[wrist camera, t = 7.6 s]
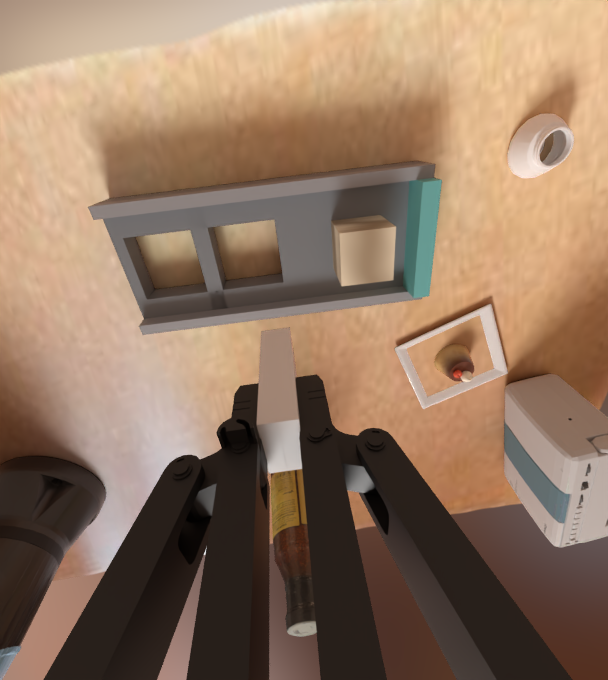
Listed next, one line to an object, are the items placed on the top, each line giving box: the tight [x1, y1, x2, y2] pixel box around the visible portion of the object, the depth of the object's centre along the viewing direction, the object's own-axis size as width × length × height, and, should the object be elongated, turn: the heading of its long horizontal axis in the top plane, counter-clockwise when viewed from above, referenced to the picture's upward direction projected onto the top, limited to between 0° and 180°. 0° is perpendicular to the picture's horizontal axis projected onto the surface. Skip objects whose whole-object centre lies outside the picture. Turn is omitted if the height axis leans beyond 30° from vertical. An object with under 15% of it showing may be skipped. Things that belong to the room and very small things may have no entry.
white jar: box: [507, 113, 574, 178], centre depth 29 cm, size 5×3×5 cm
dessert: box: [395, 303, 508, 409], centre depth 41 cm, size 12×12×5 cm
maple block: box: [331, 215, 396, 286], centre depth 29 cm, size 4×4×4 cm
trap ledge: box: [88, 161, 442, 335], centre depth 31 cm, size 28×12×6 cm, turn 96°
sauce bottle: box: [271, 469, 317, 636], centre depth 43 cm, size 6×6×20 cm
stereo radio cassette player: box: [504, 374, 608, 547], centre depth 42 cm, size 21×8×20 cm, turn 18°
